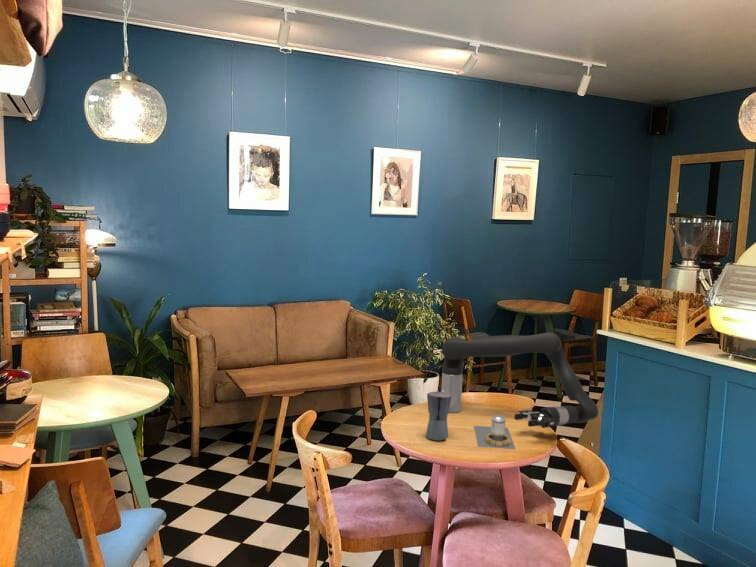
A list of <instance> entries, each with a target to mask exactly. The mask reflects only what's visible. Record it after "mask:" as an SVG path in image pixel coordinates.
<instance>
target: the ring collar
mask: <svg viewBox="0 0 756 567" xmlns="http://www.w3.org/2000/svg"><path fill="white" fill-rule="evenodd" d="M511 438H512V437H511ZM511 438H510V437H509V436H507V435H505V440H503V441H499V440H493V439H491V433H489V434H487V435H485V442H486V443H487V444H489V445H492V446H496V447H506V446H509V445H510V444H511Z"/></svg>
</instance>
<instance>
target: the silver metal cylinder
mask: <svg viewBox="0 0 756 567" xmlns="http://www.w3.org/2000/svg"><path fill="white" fill-rule="evenodd" d="M491 427H492V433H491V439H493V440H499V441H503V440H505V428H506V416H505V415H502V414H493V415H492V416H491Z"/></svg>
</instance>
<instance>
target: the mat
mask: <svg viewBox="0 0 756 567" xmlns="http://www.w3.org/2000/svg"><path fill="white" fill-rule="evenodd" d="M473 429H474V433H475V439H476V444H477V447H478V448H492V449H503V450H504V449H505V450H506V449H507V450H508V449H509V450H516V446H515V444H514V440H513V438H512V436H511V432H510V430H509V427H505V435H507V436H509V437H510V438H511V444H510V445H509V446H506V447H496V446H492V445H489V444H487V443H486V442H485V435H487V434H489V433H492V426H486V425H485V426H483V425H473Z"/></svg>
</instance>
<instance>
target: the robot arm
mask: <svg viewBox="0 0 756 567" xmlns="http://www.w3.org/2000/svg"><path fill="white" fill-rule="evenodd" d="M441 353H442V355H443V358H444V359H443V363H442V364H443V365H442V369H441V372H442V373H441V387H440V388H442V390H441V392H445V393H448V394H450V395H451V396H452V397H451V402H450V408H449V413H454V414H455V413H459V412H461V410H462V394H463V393H462V392H463V372H464V364H465V359H466V358H474V357H478V358H479V357H480V358H497V357H510V356H511V357H512V356H517V355H523V354H528V353H531V354H533V353H539V354H540V353H541V354H545V356H546V357H547V358H548V360H549V361H550V363H551V364H552V366H553V367H554V369H555V370H554V371H555V372H556V375H557V376H558V379H559V382H560V383H561V386H562V387H563V390H564V391H565V394H566V396H567V398H568V399H569V401H573V402H574V401H575V402H577V403H578V404H579V405H575V406H574V405H564V406H563V405H560V406H559V405H558V406H550V407H548V406H547V407H543V408H541V409H540V411H534V409H527V410H525V409H524V410H520V412H519V413H515V414H514V417H513V418H514V420H515V421H519V420H520V421H521V420H527V421H528V422H527V426H528V427H529V428H531V427H540V428H542V429H545V428H551V427H557V426H563V425H567V424H582V423H586V422H589V421H591V420H594V419H596V418H598V415H599V408H598V406H597V405H596V403H595V402H594V400H593V399H592V398H591V397H590V396H589V395H588V394H587V393H586V391H585V389H584V388H583V386H582V384H581V382H580V380H579V378H578V377H577V375H576V373H575V372H574V370H573V368H572V366H571V365H570V364H569V361H568V360H567V357H566V354H565V352H564V349H563V346H562V340H561V338H560V337H559V335H558V334H556V333H554V332H550V331H548V332H543V333H536V334H531V335H518V334H516V335H514V334H508V335H507V334H506V335H505V334H503V335H491V336H485V337H481V338H478V339H473V340H472V339H471V340H462V339H461V338H459V337H457V336H453V337H449V338H448V339H447V340H445V341H444V343H442V347H441Z"/></svg>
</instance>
